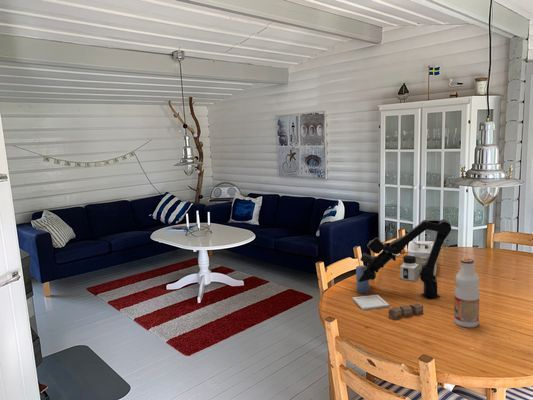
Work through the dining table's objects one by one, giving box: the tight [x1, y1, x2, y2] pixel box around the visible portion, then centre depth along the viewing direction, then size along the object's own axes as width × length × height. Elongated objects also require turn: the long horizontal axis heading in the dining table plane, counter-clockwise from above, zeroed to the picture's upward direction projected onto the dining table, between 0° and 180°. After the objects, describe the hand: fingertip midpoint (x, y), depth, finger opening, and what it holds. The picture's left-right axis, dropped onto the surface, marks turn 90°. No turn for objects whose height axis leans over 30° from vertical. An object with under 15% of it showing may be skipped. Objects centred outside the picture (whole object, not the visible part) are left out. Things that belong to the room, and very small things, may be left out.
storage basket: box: [407, 240, 438, 277], centre depth 241 cm, size 24×16×15 cm
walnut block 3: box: [409, 302, 424, 317], centre depth 184 cm, size 4×4×4 cm
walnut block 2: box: [399, 304, 413, 319], centre depth 183 cm, size 4×4×4 cm
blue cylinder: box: [355, 265, 370, 295], centre depth 213 cm, size 6×6×13 cm
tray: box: [352, 294, 390, 311], centre depth 198 cm, size 13×13×1 cm
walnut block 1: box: [388, 306, 403, 321], centre depth 182 cm, size 4×4×4 cm
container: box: [400, 254, 420, 282], centre depth 228 cm, size 8×8×13 cm
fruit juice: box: [453, 257, 480, 329], centre depth 171 cm, size 9×9×28 cm
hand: (360, 279), depth 213 cm, fingers closed on blue cylinder, 6 cm apart
